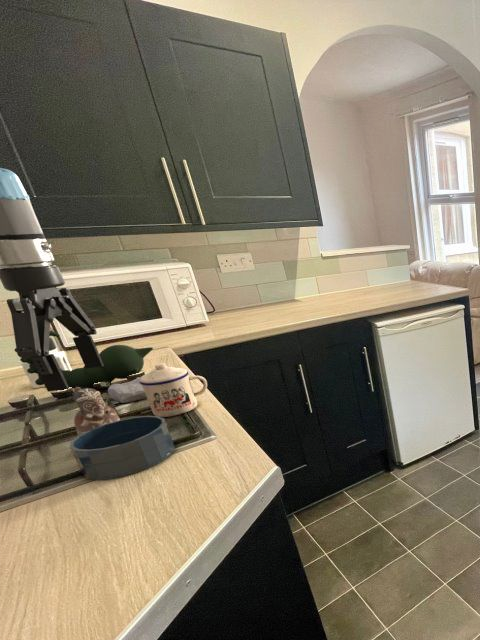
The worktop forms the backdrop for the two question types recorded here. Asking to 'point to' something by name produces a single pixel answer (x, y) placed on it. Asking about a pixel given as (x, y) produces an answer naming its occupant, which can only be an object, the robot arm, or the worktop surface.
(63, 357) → the container
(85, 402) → the figurine
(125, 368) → the toy figurine
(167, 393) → the teacup with lid
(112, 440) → the blue oval tub
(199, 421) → the worktop surface
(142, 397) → the stone block
